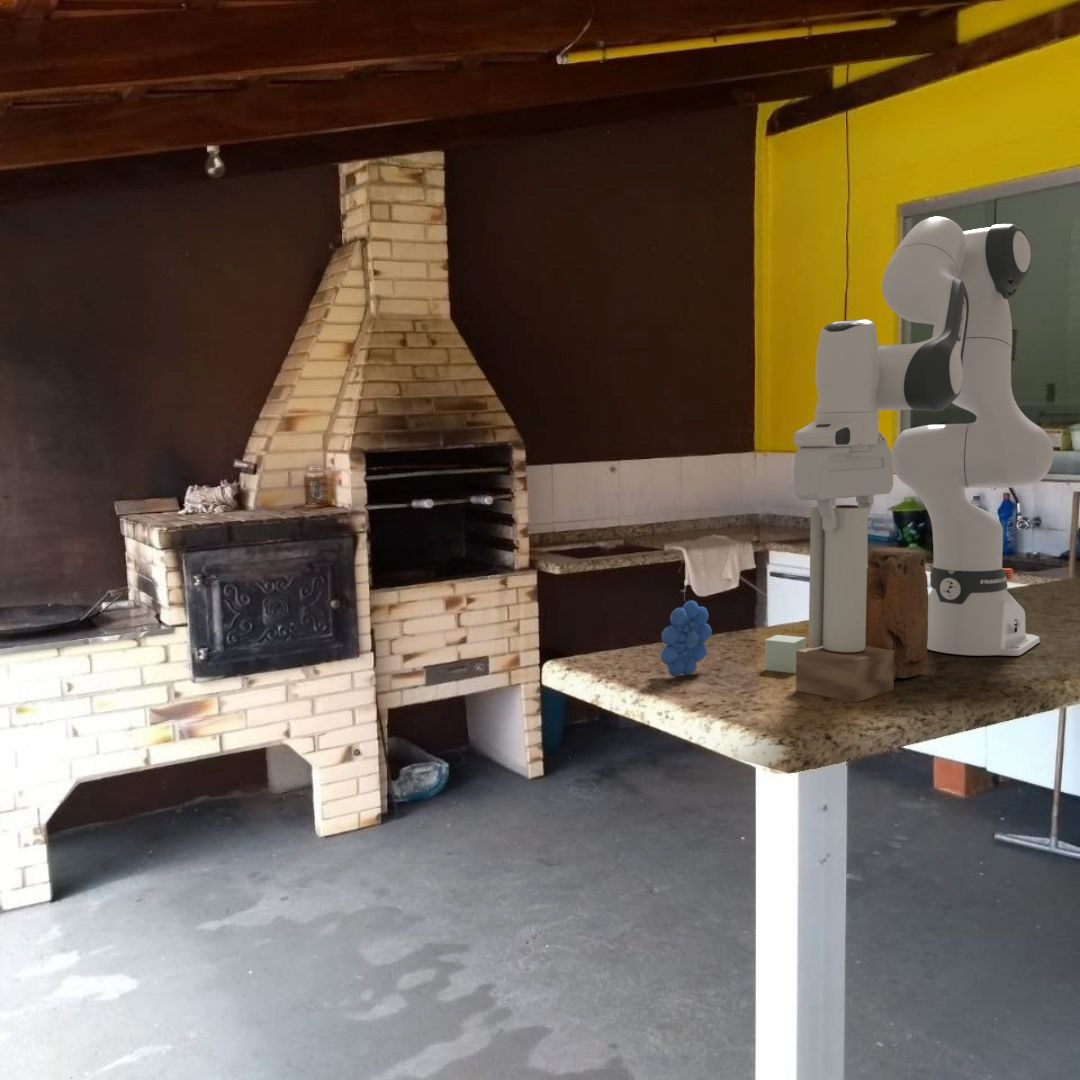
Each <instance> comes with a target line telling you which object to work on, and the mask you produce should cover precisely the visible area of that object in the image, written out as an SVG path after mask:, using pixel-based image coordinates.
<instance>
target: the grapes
mask: <svg viewBox="0 0 1080 1080" xmlns="http://www.w3.org/2000/svg"><path fill="white" fill-rule="evenodd" d="M708 619H709V612H708V610H707V608H706V607H704V606H699V603H698V602H697V601H695V600H694V599H693V600H692V599H691V600H688V601H686V602H685V603H684V604H683V606H682V607H676V608H675V609H673V610H672V612H671V614H670V616H669V621H670V623H671V625H668V626H666V627H665V628H663V630H662V632H661V640H662V642H663V644H665V645H666V646H664V648H663V649H662V650H661V651H660V659H661V661H662V663H663V664H664V665H666V666H667V671H668V673H669V675H670V676H671V677H673V678H675V677H679V676H681V675H682V674H683V675H684V676H689V675H692V674H693V673H694V672H695V671H696V669H697V662H698V663H699V662H701V661H703V660H704V659H705V658H706V656H707V654H708V649H707V647H706V645H705V644H704V643H706V641H708V640H709V639H710V637H711V636H712V633H713V631H712V628H711V627H712V626H710V624H709V623H707V621H708Z"/></svg>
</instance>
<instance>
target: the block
mask: <svg viewBox="0 0 1080 1080" xmlns="http://www.w3.org/2000/svg"><path fill="white" fill-rule="evenodd" d="M926 562H927V558H926V555H925V553H924V552H923V551H922V550H919V549H908V548H903V547H895V546H894V547H893V546H891V547H890V546H889V547H885V548H882V547H876V548H873V549H871V550H869V552H868V553H867V592H866V639H865V646H870V647H876V648H882V649H889V650H894V680H896V679H897V678H899V679H908V678H911V677H916V676H918V675H921V674H922V673H923V672H924V671H925V669H926V665H927V655H928V649H927V643H928V594H929V590H928V589H929V588H928V586H929V585H928V584H929V583H928V575H927V573H926Z"/></svg>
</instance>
